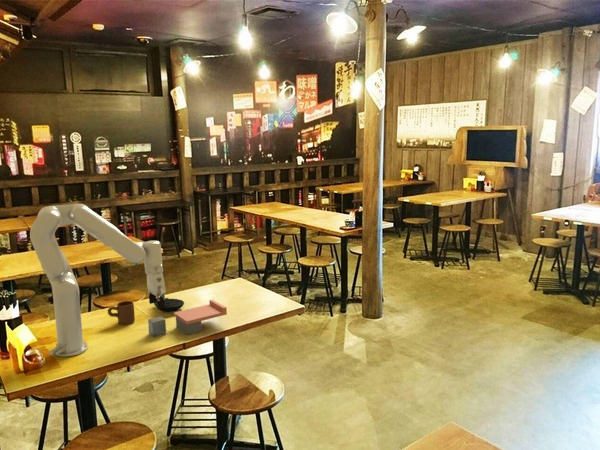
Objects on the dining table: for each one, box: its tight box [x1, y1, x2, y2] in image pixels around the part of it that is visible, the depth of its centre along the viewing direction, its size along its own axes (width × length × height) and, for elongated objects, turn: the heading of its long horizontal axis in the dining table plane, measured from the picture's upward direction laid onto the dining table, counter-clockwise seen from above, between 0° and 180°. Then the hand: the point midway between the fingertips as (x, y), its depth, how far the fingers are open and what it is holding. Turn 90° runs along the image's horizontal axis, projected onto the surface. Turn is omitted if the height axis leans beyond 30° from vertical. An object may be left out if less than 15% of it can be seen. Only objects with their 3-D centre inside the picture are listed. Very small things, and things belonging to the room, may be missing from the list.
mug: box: [107, 300, 136, 326], centre depth 235 cm, size 12×8×9 cm, turn 125°
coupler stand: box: [173, 299, 228, 336], centre depth 231 cm, size 20×14×9 cm
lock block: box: [147, 315, 167, 338], centre depth 222 cm, size 6×5×7 cm
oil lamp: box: [153, 297, 185, 314], centre depth 254 cm, size 15×20×5 cm
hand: (157, 305), depth 221 cm, fingers open, 9 cm apart
